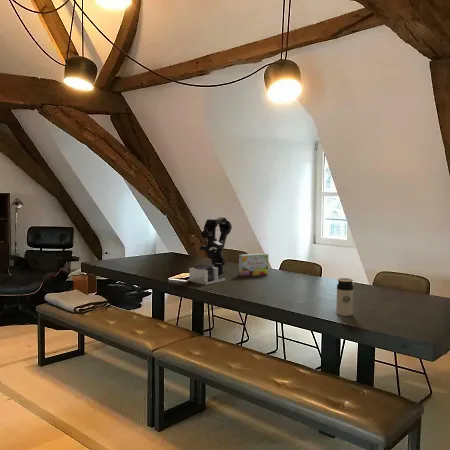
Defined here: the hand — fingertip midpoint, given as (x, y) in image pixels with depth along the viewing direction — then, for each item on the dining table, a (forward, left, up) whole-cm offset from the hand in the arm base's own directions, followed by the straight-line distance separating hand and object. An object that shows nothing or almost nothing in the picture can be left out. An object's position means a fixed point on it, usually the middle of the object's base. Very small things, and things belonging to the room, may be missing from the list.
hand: (210, 259), depth 352 cm
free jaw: (+12, +10, -12) cm, 19 cm away
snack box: (-24, +20, -12) cm, 33 cm away
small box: (+17, +9, -12) cm, 23 cm away
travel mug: (+28, +119, -12) cm, 123 cm away
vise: (+15, +10, -12) cm, 22 cm away
